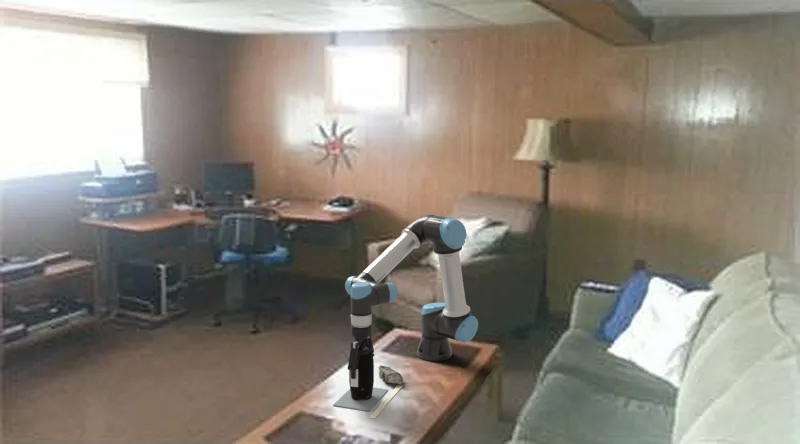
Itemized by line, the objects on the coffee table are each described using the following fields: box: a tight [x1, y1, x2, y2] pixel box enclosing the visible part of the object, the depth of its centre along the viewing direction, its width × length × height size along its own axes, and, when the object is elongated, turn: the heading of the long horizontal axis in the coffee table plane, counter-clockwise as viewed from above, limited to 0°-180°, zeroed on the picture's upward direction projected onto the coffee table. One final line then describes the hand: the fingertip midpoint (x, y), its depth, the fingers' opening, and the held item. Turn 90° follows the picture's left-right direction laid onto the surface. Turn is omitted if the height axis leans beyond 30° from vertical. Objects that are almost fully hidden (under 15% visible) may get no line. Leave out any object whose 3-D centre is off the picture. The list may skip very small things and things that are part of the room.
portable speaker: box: [348, 345, 375, 400], centre depth 261 cm, size 9×9×20 cm
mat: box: [332, 386, 389, 412], centre depth 262 cm, size 20×14×1 cm
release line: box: [368, 385, 403, 420], centre depth 259 cm, size 30×2×1 cm, turn 161°
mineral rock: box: [378, 365, 404, 385], centre depth 278 cm, size 15×8×4 cm, turn 15°
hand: (361, 379), depth 261 cm, fingers open, 13 cm apart
